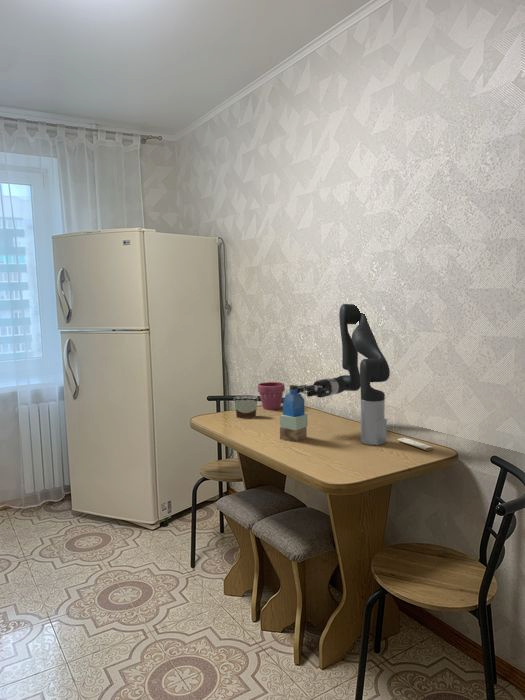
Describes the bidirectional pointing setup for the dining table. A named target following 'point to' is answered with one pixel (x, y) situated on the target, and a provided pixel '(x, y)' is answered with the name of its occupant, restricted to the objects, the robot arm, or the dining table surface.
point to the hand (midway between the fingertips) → (300, 392)
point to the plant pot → (271, 394)
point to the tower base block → (293, 434)
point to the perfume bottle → (293, 403)
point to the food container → (246, 405)
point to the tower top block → (293, 422)
